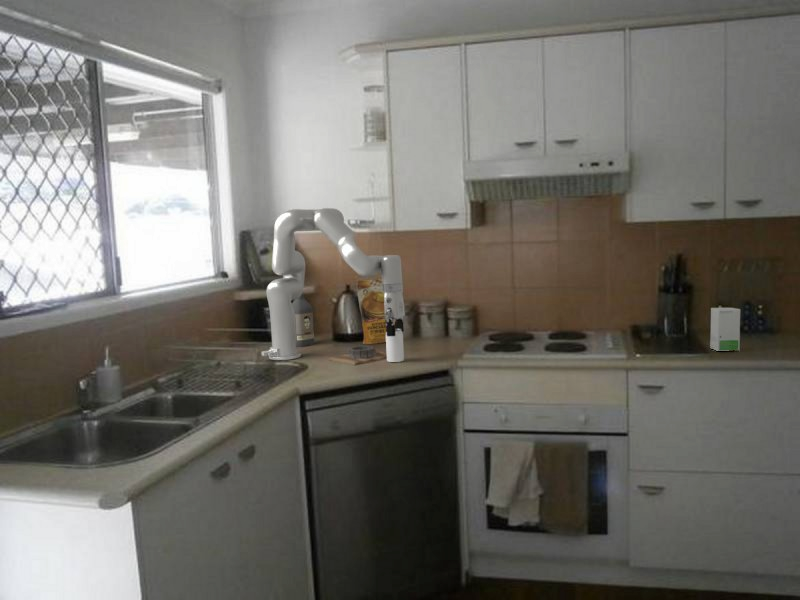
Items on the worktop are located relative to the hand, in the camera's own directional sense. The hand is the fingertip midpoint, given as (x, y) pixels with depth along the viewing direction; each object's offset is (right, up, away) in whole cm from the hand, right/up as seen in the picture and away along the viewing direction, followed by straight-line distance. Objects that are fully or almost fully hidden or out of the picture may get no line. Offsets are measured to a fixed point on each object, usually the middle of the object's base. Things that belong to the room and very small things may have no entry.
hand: (395, 333), depth 254 cm
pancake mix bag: (-8, -6, +44) cm, 45 cm away
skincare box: (+121, -6, -5) cm, 121 cm away
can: (0, -11, +1) cm, 11 cm away
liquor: (-41, -7, +46) cm, 62 cm away
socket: (-13, -10, +10) cm, 19 cm away
